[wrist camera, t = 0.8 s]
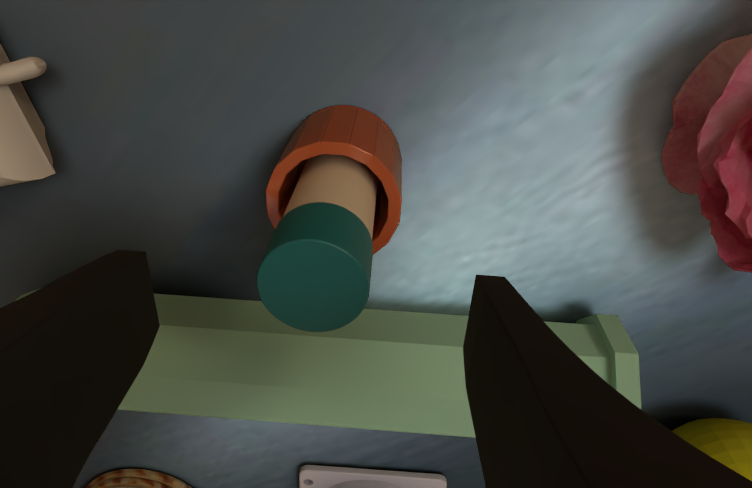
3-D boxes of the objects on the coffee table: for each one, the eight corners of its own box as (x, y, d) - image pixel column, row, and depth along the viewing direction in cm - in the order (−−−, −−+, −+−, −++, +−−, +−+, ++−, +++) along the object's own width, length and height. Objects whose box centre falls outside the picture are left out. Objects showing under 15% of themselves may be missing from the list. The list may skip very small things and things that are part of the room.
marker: (378, 199, 20) (366, 336, 13) (308, 194, 20) (259, 329, 13) (383, 131, 19) (371, 244, 12) (307, 126, 19) (251, 235, 12)
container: (-46, 442, 20) (630, 497, 19) (-54, 287, 19) (653, 338, 18) (56, 380, 25) (575, 419, 25) (53, 260, 25) (590, 297, 24)
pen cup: (396, 213, 21) (395, 268, 17) (291, 206, 21) (269, 260, 17) (405, 108, 19) (406, 147, 15) (287, 101, 19) (262, 137, 15)
